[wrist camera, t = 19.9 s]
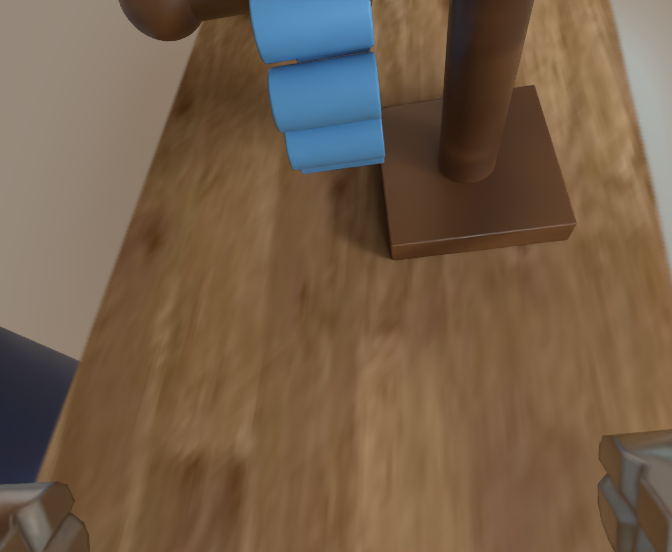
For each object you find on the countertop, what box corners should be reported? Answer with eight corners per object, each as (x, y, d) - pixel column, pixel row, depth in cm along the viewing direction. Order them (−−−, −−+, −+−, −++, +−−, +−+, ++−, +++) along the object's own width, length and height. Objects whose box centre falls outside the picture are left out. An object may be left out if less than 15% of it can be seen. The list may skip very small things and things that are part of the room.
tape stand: (241, 279, 25) (-4, -43, 10) (243, 147, 28) (61, -236, 14) (568, 240, 23) (824, -205, 9) (528, 105, 26) (665, -376, 12)
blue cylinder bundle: (389, 209, 19) (372, -3, 11) (311, 219, 19) (235, 20, 11) (367, 30, 23) (341, -235, 14) (301, 41, 23) (237, -213, 15)
